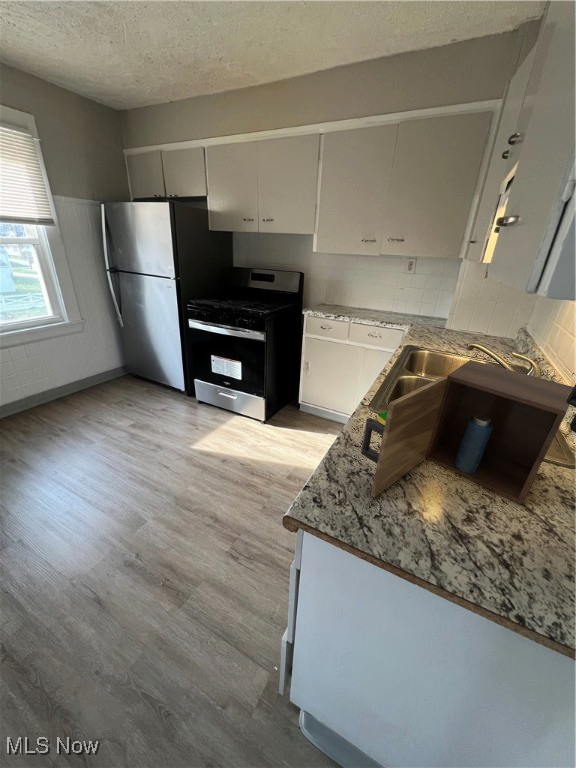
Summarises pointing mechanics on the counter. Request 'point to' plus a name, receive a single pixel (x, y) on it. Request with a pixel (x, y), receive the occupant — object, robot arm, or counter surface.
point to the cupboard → (499, 424)
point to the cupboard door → (403, 434)
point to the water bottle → (473, 443)
